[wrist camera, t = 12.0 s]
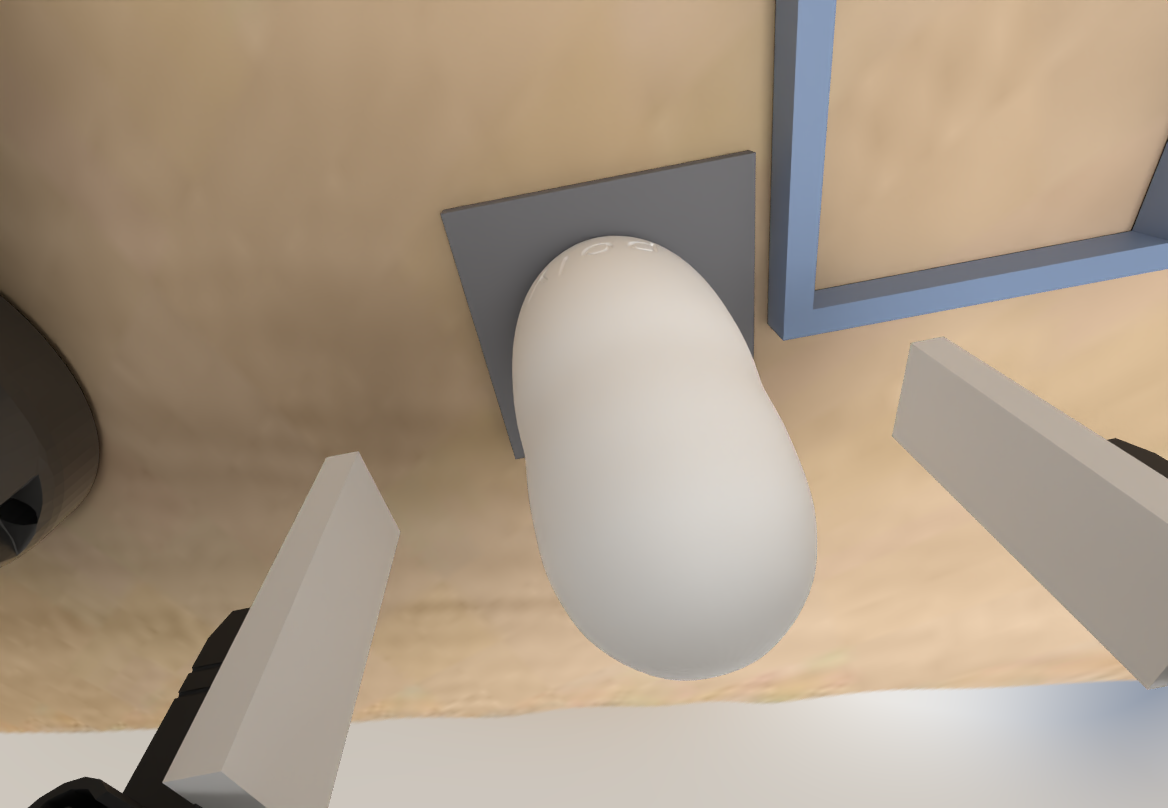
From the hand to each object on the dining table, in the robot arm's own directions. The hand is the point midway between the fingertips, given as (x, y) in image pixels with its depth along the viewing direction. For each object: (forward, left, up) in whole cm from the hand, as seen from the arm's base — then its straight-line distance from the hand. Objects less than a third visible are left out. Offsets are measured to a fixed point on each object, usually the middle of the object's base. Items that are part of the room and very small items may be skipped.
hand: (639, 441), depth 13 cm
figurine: (0, 0, -7) cm, 7 cm away
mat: (0, 0, -8) cm, 8 cm away
